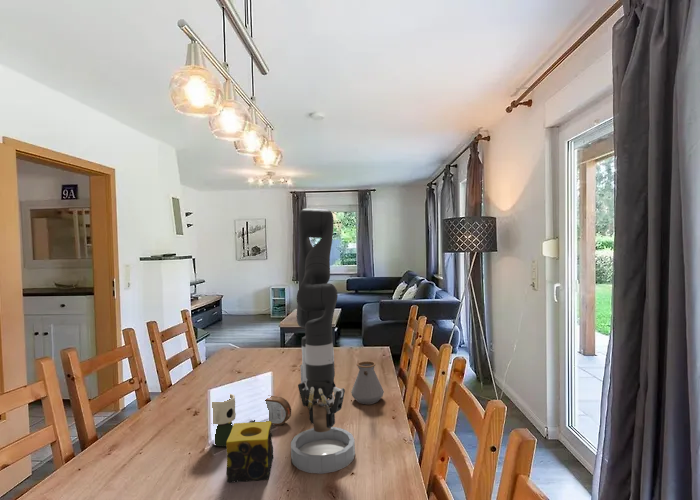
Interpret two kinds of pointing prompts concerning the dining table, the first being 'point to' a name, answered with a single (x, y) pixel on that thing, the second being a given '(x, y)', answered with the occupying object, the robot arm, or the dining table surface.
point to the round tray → (322, 450)
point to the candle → (249, 452)
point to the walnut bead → (320, 417)
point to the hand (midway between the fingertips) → (322, 424)
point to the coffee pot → (367, 384)
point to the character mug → (223, 419)
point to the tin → (278, 410)
